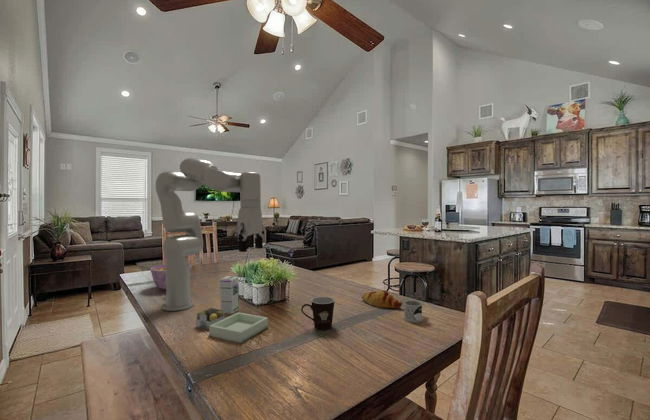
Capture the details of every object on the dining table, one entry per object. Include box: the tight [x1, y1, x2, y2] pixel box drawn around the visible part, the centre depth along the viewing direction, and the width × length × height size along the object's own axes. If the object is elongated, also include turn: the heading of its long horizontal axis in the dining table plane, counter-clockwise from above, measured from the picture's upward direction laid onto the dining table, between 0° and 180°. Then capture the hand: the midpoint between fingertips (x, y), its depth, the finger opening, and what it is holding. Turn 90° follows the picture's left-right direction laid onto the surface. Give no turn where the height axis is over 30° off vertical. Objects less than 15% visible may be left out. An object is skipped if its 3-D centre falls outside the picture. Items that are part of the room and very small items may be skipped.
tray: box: [208, 312, 269, 344], centre depth 114 cm, size 14×15×4 cm
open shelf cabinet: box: [195, 307, 226, 331], centre depth 120 cm, size 7×7×5 cm
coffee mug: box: [301, 296, 335, 331], centre depth 119 cm, size 12×9×10 cm
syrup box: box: [219, 275, 240, 315], centre depth 136 cm, size 6×6×14 cm
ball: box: [209, 313, 218, 321], centre depth 122 cm, size 3×3×3 cm
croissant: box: [361, 289, 403, 309], centre depth 144 cm, size 21×10×8 cm, turn 48°
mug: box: [403, 300, 423, 324], centre depth 126 cm, size 10×7×7 cm
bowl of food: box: [150, 264, 192, 291], centre depth 172 cm, size 20×20×12 cm
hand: (251, 249), depth 121 cm, fingers open, 9 cm apart
